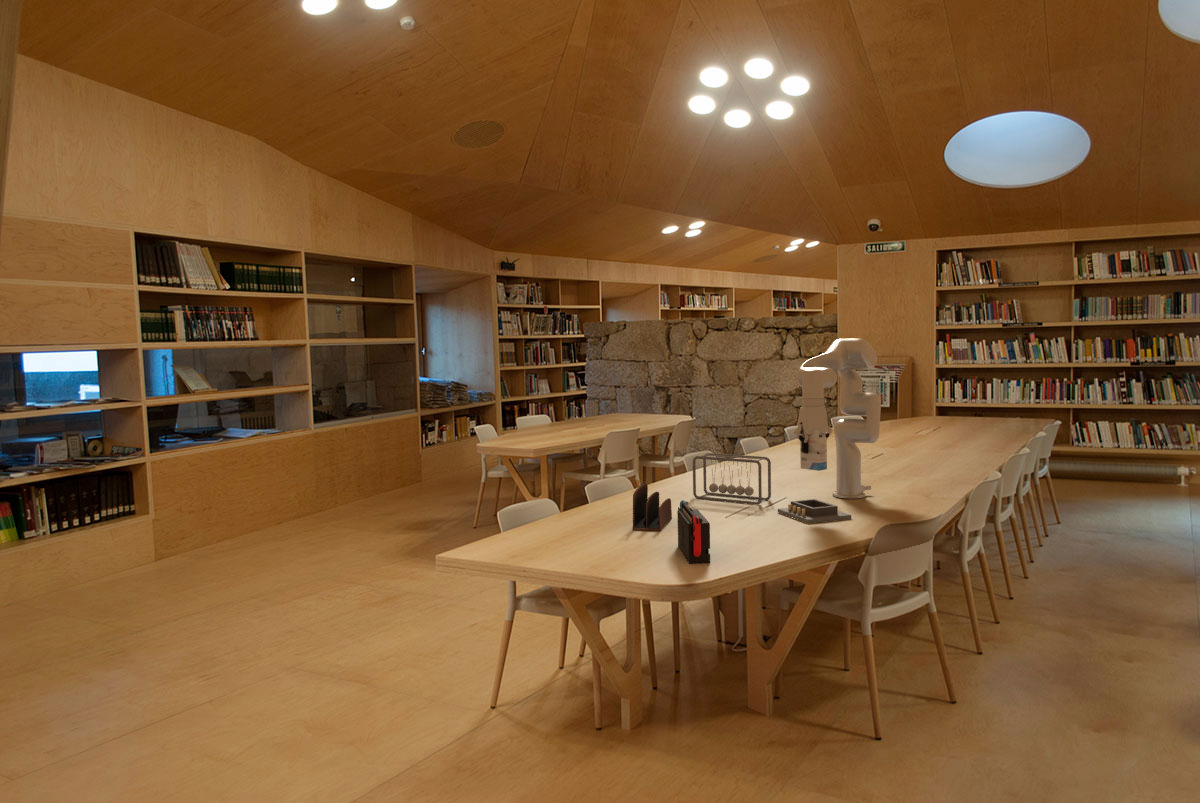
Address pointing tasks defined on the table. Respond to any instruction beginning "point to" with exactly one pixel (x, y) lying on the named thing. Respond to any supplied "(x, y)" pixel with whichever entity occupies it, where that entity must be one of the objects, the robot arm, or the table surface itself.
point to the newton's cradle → (731, 488)
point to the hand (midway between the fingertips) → (813, 452)
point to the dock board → (813, 511)
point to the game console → (693, 534)
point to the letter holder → (650, 510)
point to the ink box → (814, 453)
